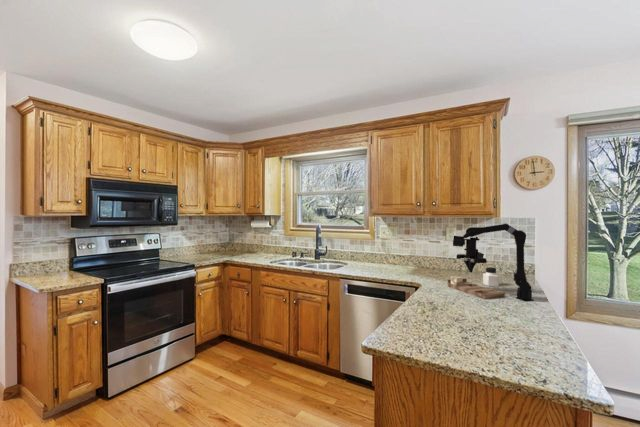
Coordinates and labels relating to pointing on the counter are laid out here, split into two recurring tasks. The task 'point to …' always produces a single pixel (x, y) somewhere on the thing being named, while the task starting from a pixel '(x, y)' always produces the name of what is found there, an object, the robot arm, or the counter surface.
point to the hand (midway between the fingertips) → (470, 272)
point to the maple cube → (456, 280)
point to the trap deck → (477, 290)
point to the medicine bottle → (490, 277)
